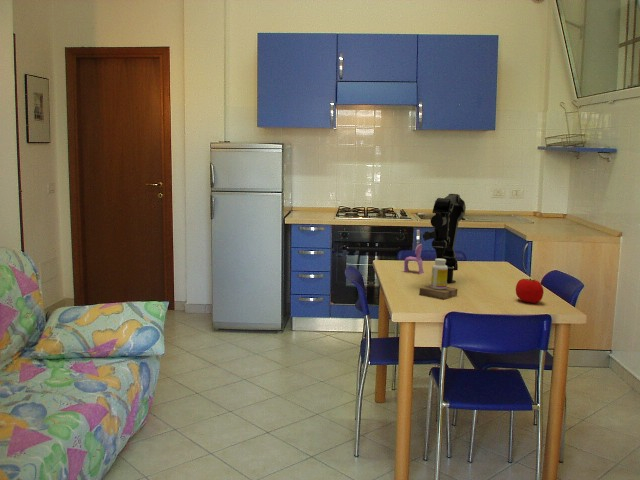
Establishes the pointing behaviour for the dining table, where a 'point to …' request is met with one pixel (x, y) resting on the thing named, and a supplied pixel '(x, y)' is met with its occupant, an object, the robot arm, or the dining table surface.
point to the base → (438, 292)
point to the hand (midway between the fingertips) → (439, 259)
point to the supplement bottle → (439, 274)
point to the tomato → (529, 290)
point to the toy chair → (417, 259)
